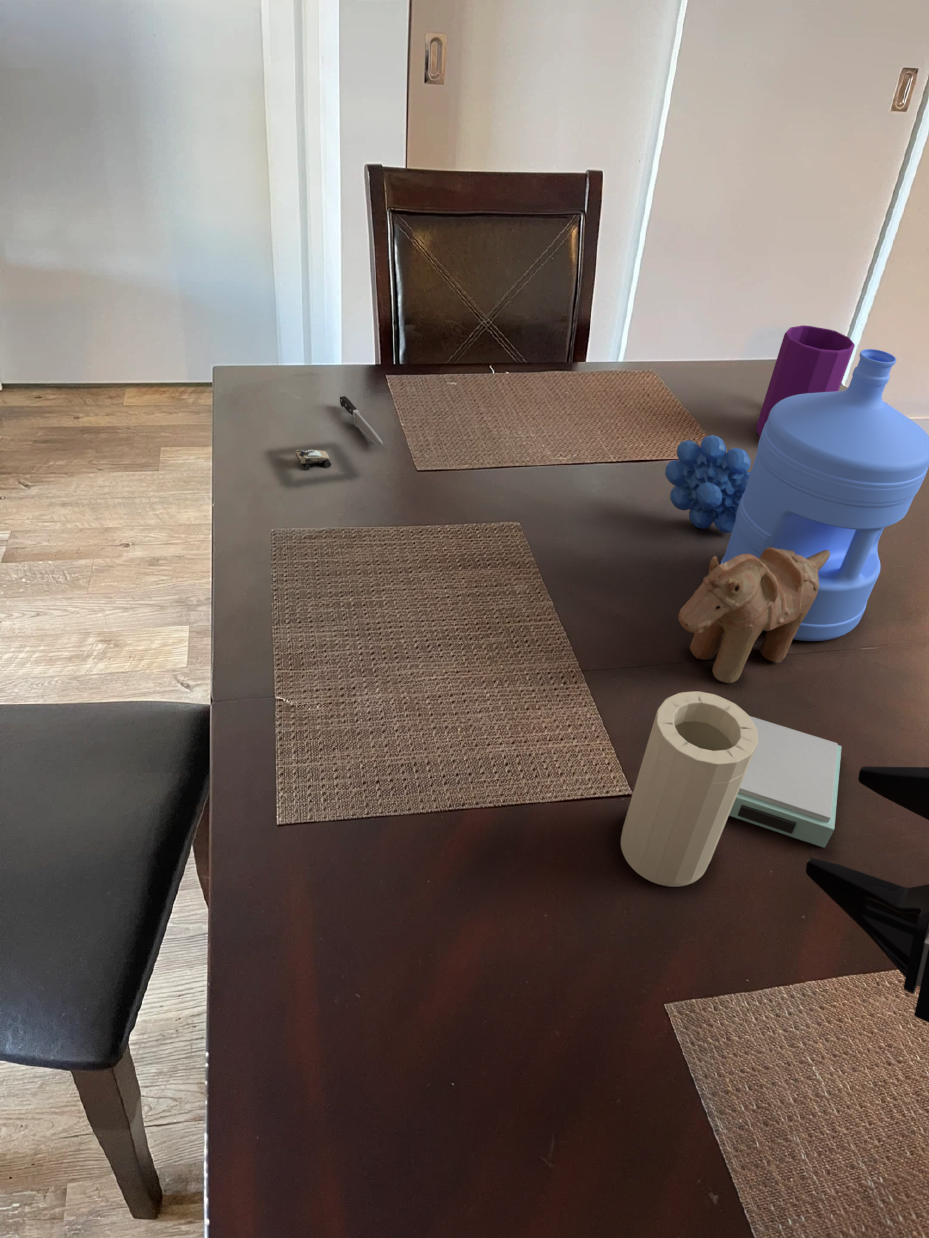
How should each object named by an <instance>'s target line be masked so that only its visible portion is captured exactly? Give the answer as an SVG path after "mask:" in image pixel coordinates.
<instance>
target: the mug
mask: <svg viewBox="0 0 929 1238" xmlns="http://www.w3.org/2000/svg"><path fill="white" fill-rule="evenodd" d="M855 345H856V344H855V343H854V342H853V340H852V339H851V337H849V336H847V335H845V334H842V333H841V332H839V331H836V330H834V329H829V328H823V327H819V326H818V327H817V326H811V325H805V324H804V325H798V326H797V325H796V326H792V327H789V328H788V330H787V331H785V333H784V335H783V337H782V340H781V344H780V348H779V351H778V354H777V357H776V361H775V363H774V367H773V370H772V373H771V377H770V381H769V383H768V386H767V390H766V393H765V396H764V399H763V400H764V401H763V403H762V406H761V410H760V412H759V416H758V419H757V422H756V426H755V431H756V433H757V436H758V437H759V438H760V437H761V434H762V430H763V428H764V425H765V423H766V422H767V420H768V417H769V413H770V411H771V409H772V408H773V407H774V406H775V405H776V404H777V403H778V402H779V401H781V400H783V399H785V398H787V397H790V396H794V395H799V394H806V393H820V392H835V391H840V389H841V385H842V384H843V383H842V382H843V380H844V376H845V375H846V371H847V369H848V366H849V363H850V360H851V358H852V355H853V352H854V350H855Z"/></svg>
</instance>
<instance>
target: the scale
mask: <svg viewBox="0 0 929 1238" xmlns="http://www.w3.org/2000/svg"><path fill="white" fill-rule="evenodd" d="M749 717H750V718H751V720H752V722H753V724H754V725H755V727H756V729H757V737H758V744H757V747H756V749H755V752H754V754H753V757H752V759H751V762H750V764H749V767H748V769H747V772H746V774H745V777H744V779H743V782H742V784H741V787H740V789H739V792H738V794H737V797H736V799H735V801H734V804H733V806H732V809H731V811H730V814H729V816H728V817H732V818H734V819H737V820H741V821H744V822H745V823H746V822H747V823H750V824H753V825H756V826H759V827H761V828H764V829H768V830H771V831H773V832H777V833H779V834H782V835H785V836H788V837H791V838H794V839H797V840H800V841H802V842H805V843H808V844H811V845H815V846H817V847H819V848H820V847H821V848H823V849H824V848H825V849H826V846H827V844H828V842H829V840H830V839H831V837H832V835H833V834H834V831H835V826H836V825H835V824H836V816H837V815H836V814H837V804H838V803H837V802H838V792H839V780H840V770H841V769H840V768H841V758H842V745H841V744H840V745H839V744H838V743H837V742H835V741H831V740H828V739H825V738H822V737H819V736H816V735H812V734H809V733H806V732H802V731H799V730H796V729H792V728H789V727H786V726H783V725H780V724H777V723H775V722H770V721H768V720H764V719H761V718H758V717H754V716H751V715H749Z"/></svg>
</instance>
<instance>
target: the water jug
mask: <svg viewBox="0 0 929 1238" xmlns="http://www.w3.org/2000/svg"><path fill="white" fill-rule="evenodd" d="M858 355H859V360H858V363H857V366H855V367H854V369H853V371H852V374H851V375H852V377H851V379H850V382H849V385H848V387H847V388H846V389H845V390H839V391H835V392H820V393H806V394H799V395H794V396H790V397H787V398H785V399H783V400H781V401H779V402H778V403H777V404H776V405H775V406H774V407H773V408H772V409H771V411H770V413H769V417H768V420H767V422H766V423H765V425H764V428H763V430H762V434H761V437H759V440H758V444H757V450H756V451H757V452H756V455H755V458H754V462H753V464H752V467H751V470H750V472H751V473H750V477H749V480H748V483H747V486H746V489H745V492H744V493H743V495H742V498H741V500H740V503H739V507H738V510H737V514H736V521H735V524H734V527H733V531H732V533H730V537H729V539H728V543H727V545H726V546H727V547H726V550H725V553H724V555H723V557H722V559H721V561H720V564H723V563H725V562H727V561H729V560H731V559H733V558H734V557H736V556H738V555H742V554H750V555H753V556H755V557H757V558H760V556H761V555H762V553H763V551H764V550H765V549H767V548H769V547H773V548H776V549H784V550H791V551H794V552H795V553H796V555H801V556H803V557H804V558H808V557H810V556H812V555H814V554H817V553H819V552H821V551H824V550H828V551H829V552H830V556H829V559H828V560H827V561H826V563H825V564H824V565H823V567H822V568H821V569H820V570H819V571H818V579H819V589H818V593H817V596H816V598H815V600H814V602H813V603H812V605H811V607H810V609H809V611H808V613H807V614H806V616H805V618H804V619H803V621H802V623H801V624H800V626H799V628H798V630H797V632H796V634H795V636H794V638H793V640H795V641H803V642H823V641H829V640H835V639H837V638H840V637H842V636H845V635H846V634H848V633H850V632H851V631H853V630H854V629H855V628H856V627H857V625H859V623H860V621H861V619H862V617H863V615H864V613H865V610H866V608H867V605H868V600H869V598H870V596H871V593H872V592H873V589H874V587H875V585H876V583H877V580H878V578H879V575H880V573H881V561H880V558H879V551H878V550H879V549H878V546H879V542H880V541H879V540H880V538H881V536H882V534H883V531H884V529H885V528H887V527H891V526H893V525H895V524H896V523H898V522H900V521H901V520H902V519H904V518H905V517H906V516H907V514H908V511H909V510H910V507H911V505H912V502H913V501H914V498H915V496H916V495H917V494H918V492H919V490H920V489H921V487H922V484H923V482H924V480H925V478H926V476H927V472H928V470H929V434H928V433H927V432H926V431H925V430H924V429H923V428H922V427H921V426H920V424H918V423H916V422H915V421H914V420H912V419H911V418H909V417H908V416H906V415H905V414H904V413H902V412H901V411H899V410H897V409H896V408H894V407H893V406H891V404H889V403H887V402H885V401H884V400H883V394H884V392H885V391H884V390H885V388H886V385H887V384H888V383H889V381H890V377H891V376H890V373H891V370H892V368H893V366H895V365H896V362H897V357H896V356H894V355H893V354H892V353H889V352H887V351H884V350H880V349H874V348H865V349H862V350H861V351H860V352H859V354H858ZM763 631H764V632H765V633H766V632H767V631H766V630H763Z"/></svg>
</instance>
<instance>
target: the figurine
mask: <svg viewBox="0 0 929 1238" xmlns="http://www.w3.org/2000/svg"><path fill="white" fill-rule="evenodd" d="M829 556H830V552H829V551H828V550H824V551H821V552H819V553H817V554H814V555H812V556H810V557H808V558H804V557H803V556H801V555H796V553H795V552H794V551H791V550H784V549H776V548H773V547H769V548H767V549H765V550H764V551H763V553H762V555H761V556H760V558H757V557H755V556H753V555H750V554H742V555H738V556H736V557H734V558H733V559H731V560H729V561H727V562H725V563H723V564H721V563H719V561H718V556H716V555H715V556H712V557H711V559H710V562H709V565H708V574H707V575H706V576H704V577H703V579H702V582H701V584H700V585H699V586H698V587H697V588H696V590H695V591H694V592H693V595H692V596H691V597H690V598H689V599H688V600H687V601H686V603H684V605H683V606H682V607H681V608H680V610H679V613H678V622H679V624H680V626H681V627H682V628H683V629H685V631H688V632H689V633H693V637H692V640H691V642H690V645H689V650H690V651H691V654H692V655H693V656H694V657H695V658H696V659H697V660H703V661H709V660H713V659H715V661H714V663H713V666H712V668H711V671H712V674H713V677H714V678H715V679H716V680H717V681H719V682H721V683H724V684H733V683H735V682H737V681H738V680H739V679H740V677H741V675H742V673H743V671H744V667H745V666H746V665H745V664H746V663H747V661H748V659H749V655H750V654H751V652H752V649H753V647H754V644H755V643H756V640H757V639H758V637H759V636H760V635H761V634H762V632H763V631H764V630H766V631H767V632H766V631H765V635H764V638H763V639H762V642H761V645H760V646H759V652H760V654H761V655H762V656H763V657H764V659H765V660H769V661H770V662H772V663H776V664H777V663H778V664H779V663H781V662H783V660H784V659H785V658H786V656H787V654H788V652H789V650H790V647H791V644H792V642H793V640H794V639H793V638H794V636H795V634H796V632H797V630H798V628H799V626H800V624H801V623H802V621H803V619H804V618H805V616H806V614H807V613H808V611H809V609H810V607H811V605H812V603H813V602H814V600H815V598H816V596H817V593H818V589H819V579H818V571H819V570H820V569H821V568H822V567H823V565H824V564H825V563H826V561H827V560H828V559H829ZM716 654H717V655H716ZM715 656H716V658H715Z"/></svg>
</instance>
